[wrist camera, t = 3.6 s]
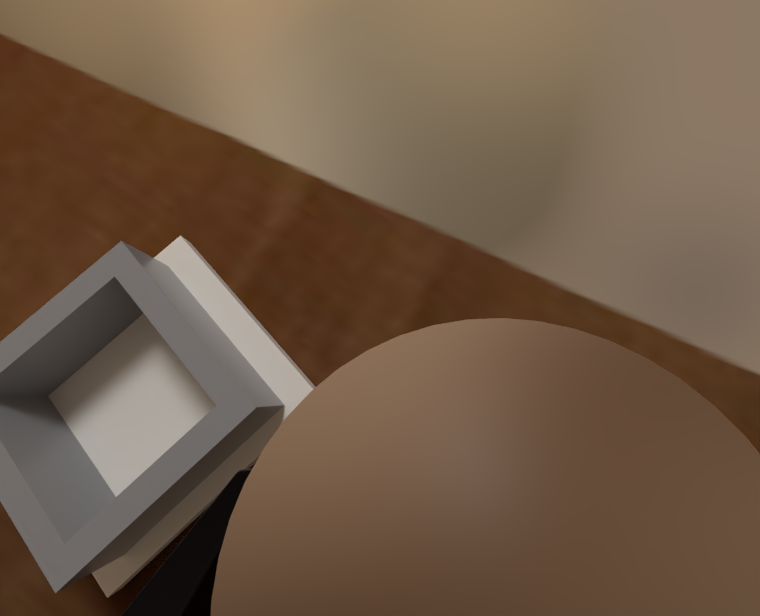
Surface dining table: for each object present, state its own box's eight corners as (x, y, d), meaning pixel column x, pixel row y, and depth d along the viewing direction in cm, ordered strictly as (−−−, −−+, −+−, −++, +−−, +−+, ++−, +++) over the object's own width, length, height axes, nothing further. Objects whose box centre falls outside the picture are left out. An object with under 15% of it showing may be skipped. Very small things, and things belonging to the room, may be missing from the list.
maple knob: (530, 449, 16) (1007, 663, 3) (431, 552, 15) (534, 1294, 3) (432, 349, 17) (498, 215, 4) (336, 441, 16) (96, 591, 4)
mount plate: (324, 397, 17) (300, 397, 13) (122, 588, 16) (34, 646, 12) (189, 242, 19) (136, 205, 15) (2, 401, 18) (-103, 403, 14)
